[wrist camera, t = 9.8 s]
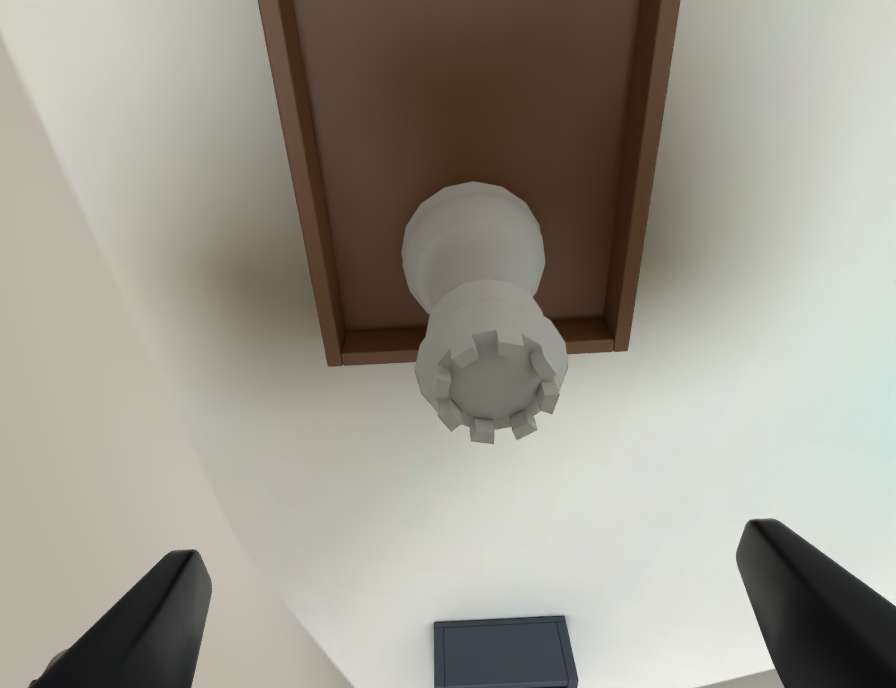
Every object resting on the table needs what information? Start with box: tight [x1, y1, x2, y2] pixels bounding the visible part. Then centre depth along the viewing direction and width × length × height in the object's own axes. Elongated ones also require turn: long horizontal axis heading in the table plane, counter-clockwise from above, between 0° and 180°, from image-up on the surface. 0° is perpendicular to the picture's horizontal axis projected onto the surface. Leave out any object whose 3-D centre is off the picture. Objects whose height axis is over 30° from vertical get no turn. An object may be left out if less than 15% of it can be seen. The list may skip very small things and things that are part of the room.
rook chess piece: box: [401, 181, 568, 444], centre depth 14 cm, size 4×4×8 cm
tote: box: [434, 616, 578, 688], centre depth 30 cm, size 7×7×3 cm
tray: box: [258, 0, 680, 366], centre depth 15 cm, size 10×16×2 cm, turn 3°
